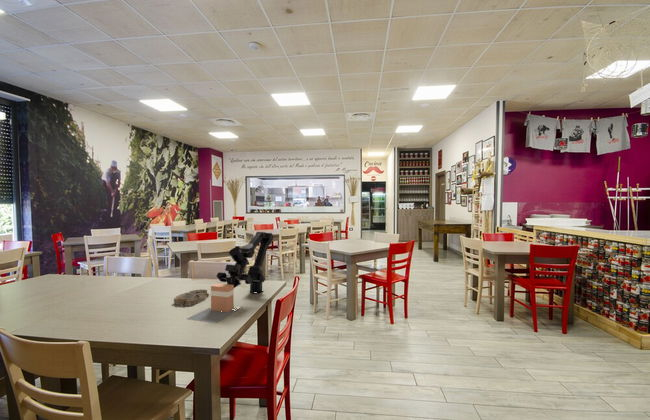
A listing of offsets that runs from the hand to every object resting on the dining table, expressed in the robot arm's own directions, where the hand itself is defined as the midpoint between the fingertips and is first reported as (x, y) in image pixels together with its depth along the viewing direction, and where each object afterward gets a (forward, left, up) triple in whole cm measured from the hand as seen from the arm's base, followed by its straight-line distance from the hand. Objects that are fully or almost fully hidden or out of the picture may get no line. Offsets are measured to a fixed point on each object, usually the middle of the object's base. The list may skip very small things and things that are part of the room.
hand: (227, 292), depth 148 cm
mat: (+8, +4, -8) cm, 12 cm away
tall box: (+4, +2, -7) cm, 9 cm away
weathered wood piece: (+6, -25, -8) cm, 27 cm away
